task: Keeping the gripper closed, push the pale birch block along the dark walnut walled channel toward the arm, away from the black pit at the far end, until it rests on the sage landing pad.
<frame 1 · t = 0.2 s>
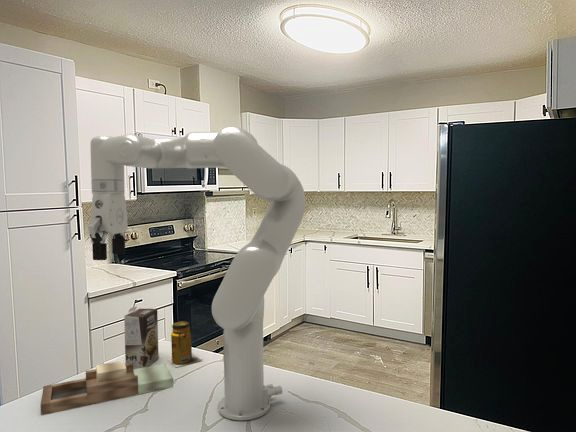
hand: (109, 256, 106), 37 cm above the countertop, tool pointing down, fingers open, 9 cm apart
birch block: (111, 381, 114), point 2 cm above the countertop, touching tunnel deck
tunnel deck: (111, 390, 114), on the countertop
coffee box: (142, 364, 132), on the countertop
condiment: (184, 361, 133), on the countertop
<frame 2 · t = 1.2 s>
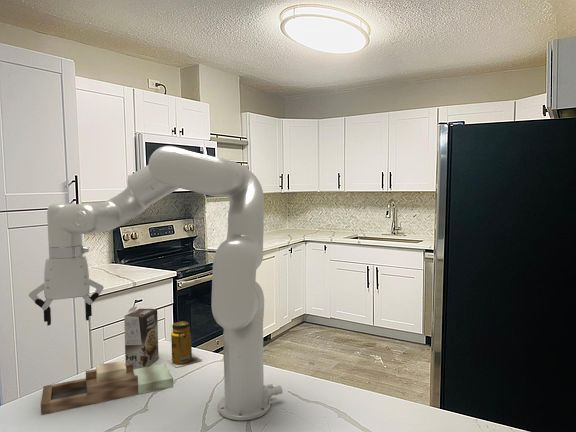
hand: (68, 321, 108), 20 cm above the countertop, tool pointing down, fingers open, 8 cm apart
nothing on the countertop moved.
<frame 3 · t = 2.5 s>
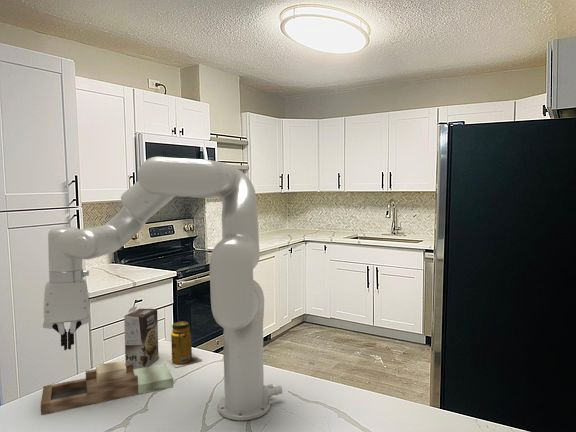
hand: (67, 347, 109), 13 cm above the countertop, tool pointing down, fingers closed
nothing on the countertop moved.
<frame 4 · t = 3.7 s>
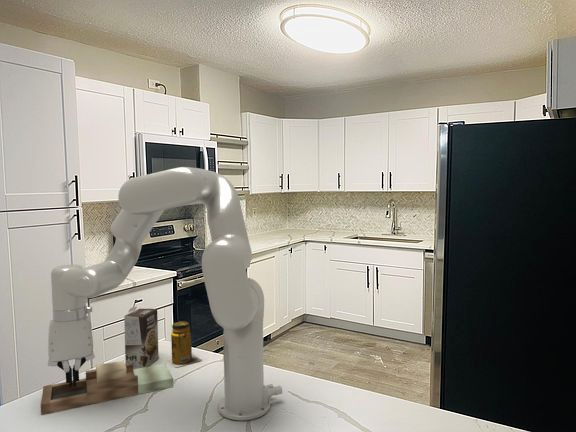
hand: (72, 384, 109), 4 cm above the countertop, tool pointing down, fingers closed
nothing on the countertop moved.
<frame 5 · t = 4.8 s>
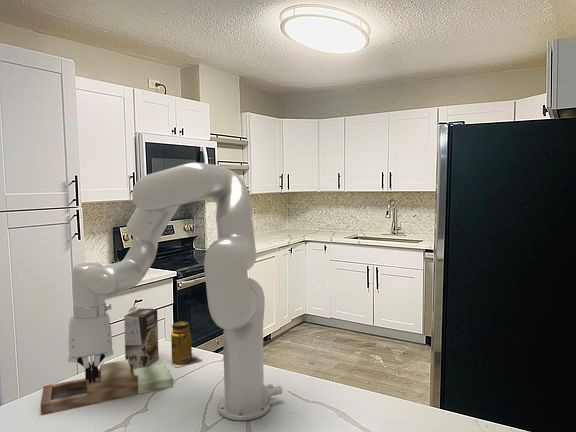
hand: (91, 380, 112), 4 cm above the countertop, tool pointing down, fingers closed
birch block: (115, 380, 114), point 3 cm above the countertop, touching gripper
everything else where it was.
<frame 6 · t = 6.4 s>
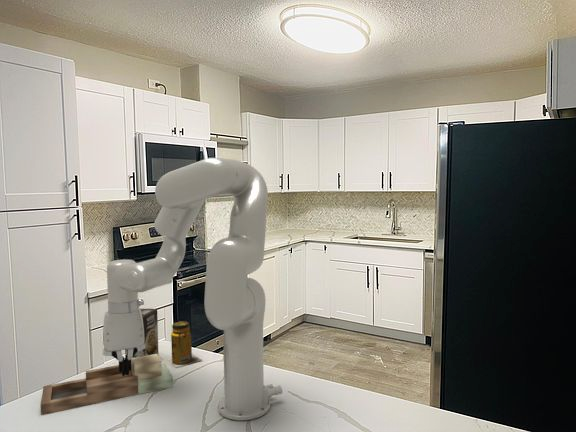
hand: (125, 373, 115), 4 cm above the countertop, tool pointing down, fingers closed
birch block: (146, 373, 118), point 2 cm above the countertop, touching gripper
everything else where it was.
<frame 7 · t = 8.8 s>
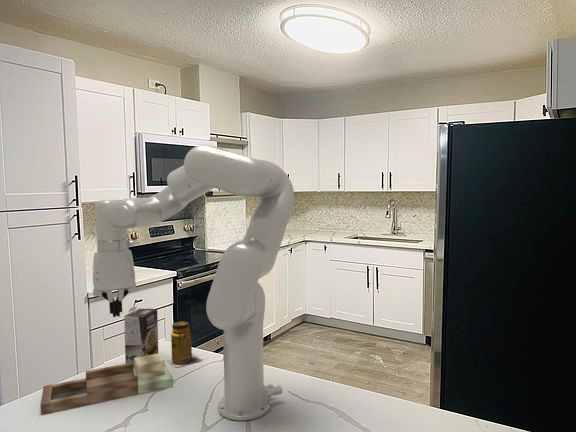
hand: (116, 315, 113), 20 cm above the countertop, tool pointing down, fingers closed
birch block: (149, 373, 119), point 2 cm above the countertop, touching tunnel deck
everything else where it was.
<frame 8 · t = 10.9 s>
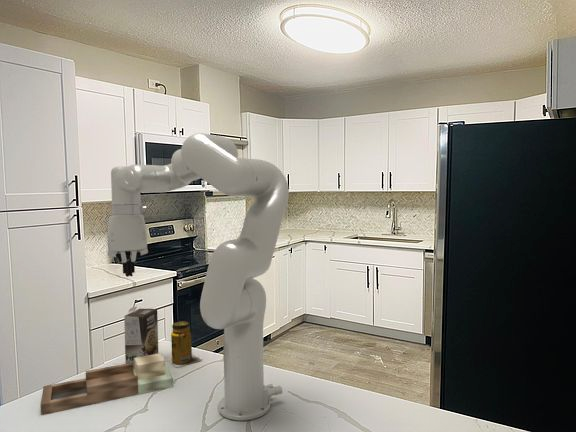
hand: (128, 275, 121), 29 cm above the countertop, tool pointing down, fingers closed
nothing on the countertop moved.
at the end: birch block inside the target area on the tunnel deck (0.6 cm from its centre), point 2.4 cm above the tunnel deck's base; birch block tilted 0° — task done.
